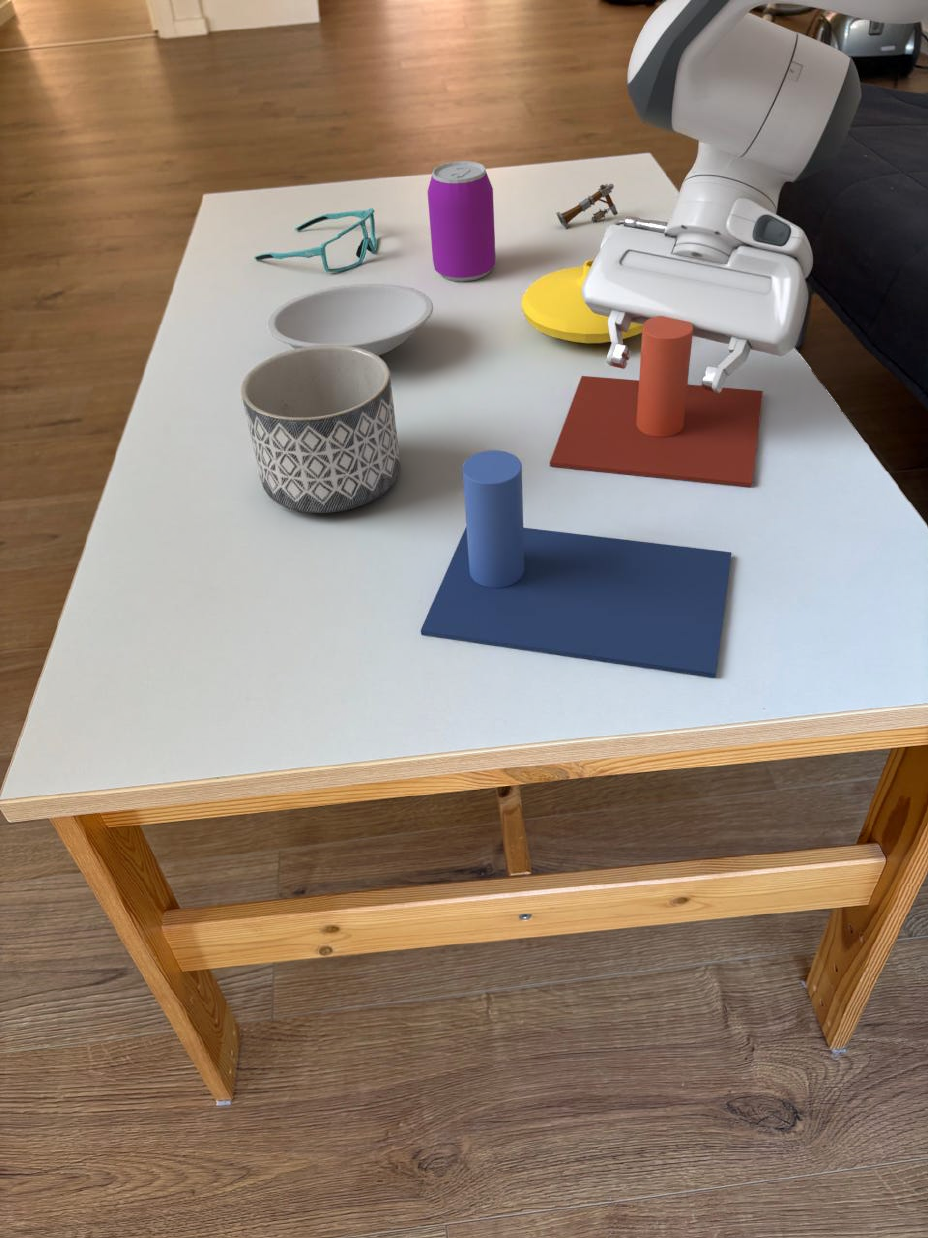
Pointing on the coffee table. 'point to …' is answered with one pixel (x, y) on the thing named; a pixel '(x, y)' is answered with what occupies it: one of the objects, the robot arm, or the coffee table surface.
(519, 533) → the blue peg
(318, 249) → the sunglasses
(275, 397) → the planter
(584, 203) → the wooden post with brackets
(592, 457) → the red mat
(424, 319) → the dish
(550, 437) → the coffee table surface
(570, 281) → the vase
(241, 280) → the coffee table surface
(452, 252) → the beverage can
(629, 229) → the robot arm
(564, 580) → the blue mat
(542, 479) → the coffee table surface
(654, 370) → the red peg
